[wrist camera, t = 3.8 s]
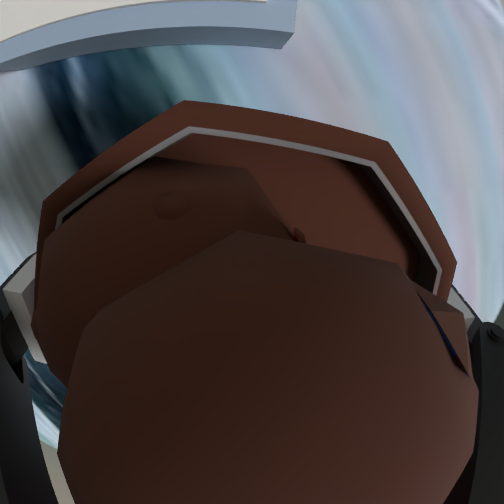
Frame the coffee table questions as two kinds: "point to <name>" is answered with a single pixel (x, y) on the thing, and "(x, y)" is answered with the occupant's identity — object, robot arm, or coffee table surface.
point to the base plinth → (135, 26)
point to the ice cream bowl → (252, 319)
